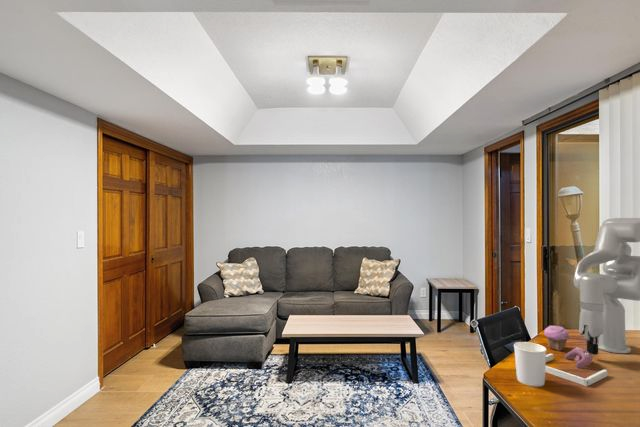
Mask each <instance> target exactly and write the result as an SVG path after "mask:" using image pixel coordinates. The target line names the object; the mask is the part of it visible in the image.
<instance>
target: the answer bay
mask: <svg viewBox="0 0 640 427" xmlns="http://www.w3.org/2000/svg"><path fill="white" fill-rule="evenodd" d="M552 360H554V354H553V353H548V354H546V363H547V362H550V361H552ZM545 373H547V374H550V375H553V376H557V377H559V378H562V379H565V380H568V381H570V382H573V383H576V384H580V385H582V386H584V387H588V386H591V385H593V384H594V383H596V382H598V381H600V380H602V379H604V378H607V377H608V370H607V369H602V370H599V371H598V372H596V373H595V372H594V373H593V374H591V375H590V376H587V377H586V378H584V377H581V376H578V375H575V374H572V373H569V372H566V371H563V370H561V369H557V368H554V367H550V366H548V365H546V368H545Z"/></svg>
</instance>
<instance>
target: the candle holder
mask: <svg viewBox="0 0 640 427" xmlns="http://www.w3.org/2000/svg"><path fill="white" fill-rule="evenodd" d="M513 349H514V359H515V360H514V361H515V370H516V371H515V372H516V380H517V381H518V382H519V383H521V384H523V385H526V386H529V387H536V388H539V387H544V386H545V383H546V372H545V368H546V366H547V364H546V363H547V362H546V355H547V348H546V347H545V346H543V345H541V344H538V343H534V342H529V341H518V342H517V341H516V342H514V344H513Z"/></svg>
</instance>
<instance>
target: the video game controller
mask: <svg viewBox="0 0 640 427" xmlns="http://www.w3.org/2000/svg"><path fill="white" fill-rule="evenodd" d="M564 358H565V359H566V360H573V359H574V361H575V362H576V364H575V367H576V368H577V369H584V368H585V367H587V366H588V365H589V364H591V363H592V362H593V356H592V355H591V353H589V352H588V351H587V349H584V348H583V347H577V346H576V347H574V348H573V349H572V350H570V351H568V352H567V353H566V354H565V356H564Z"/></svg>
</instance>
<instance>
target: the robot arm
mask: <svg viewBox="0 0 640 427" xmlns="http://www.w3.org/2000/svg"><path fill="white" fill-rule="evenodd" d="M628 243H640V217H616V218H615V217H613V218H608V219H605V220H604V221H602V223H601V226H600V227H599V229H598V233H597V237H596V241H595V246H594V248H593V251H592V252H590V253H588V254H587V255H585V256H584V257H583V258H581V260H580V261H579V262H578V263H577V264H576V268H575V271H574V275H573V285H574V287H575V289H578V290H579V307H580V313H579V321H578V322H579V324H578V333H579V335H581V336H582V335H584V336H583V339H584V340H586V351H588V352H589V354H590V355H591V354H592V355H598V354H599V350H601V351H604V352H608V353H615V354H630V353H631V352H632V351H631V350H632V349H631V347H629V346H628V345H627V344H626V343H627V339H628V338H627V337H626V311H625V310H626V309H625V307H624V305H623V303H622V302H621V301H620V300H619V299H622V300H630V301H635V302H637V301H638V302H639V301H640V256H639V255H632V247H631V246H630V245H629V244H628ZM601 264H602V270H603V273H605V274H603V273H596V272H594V273H593V272H588V271H589V270H590V269H591V268H593V267H595V266H598V265H601Z"/></svg>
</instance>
